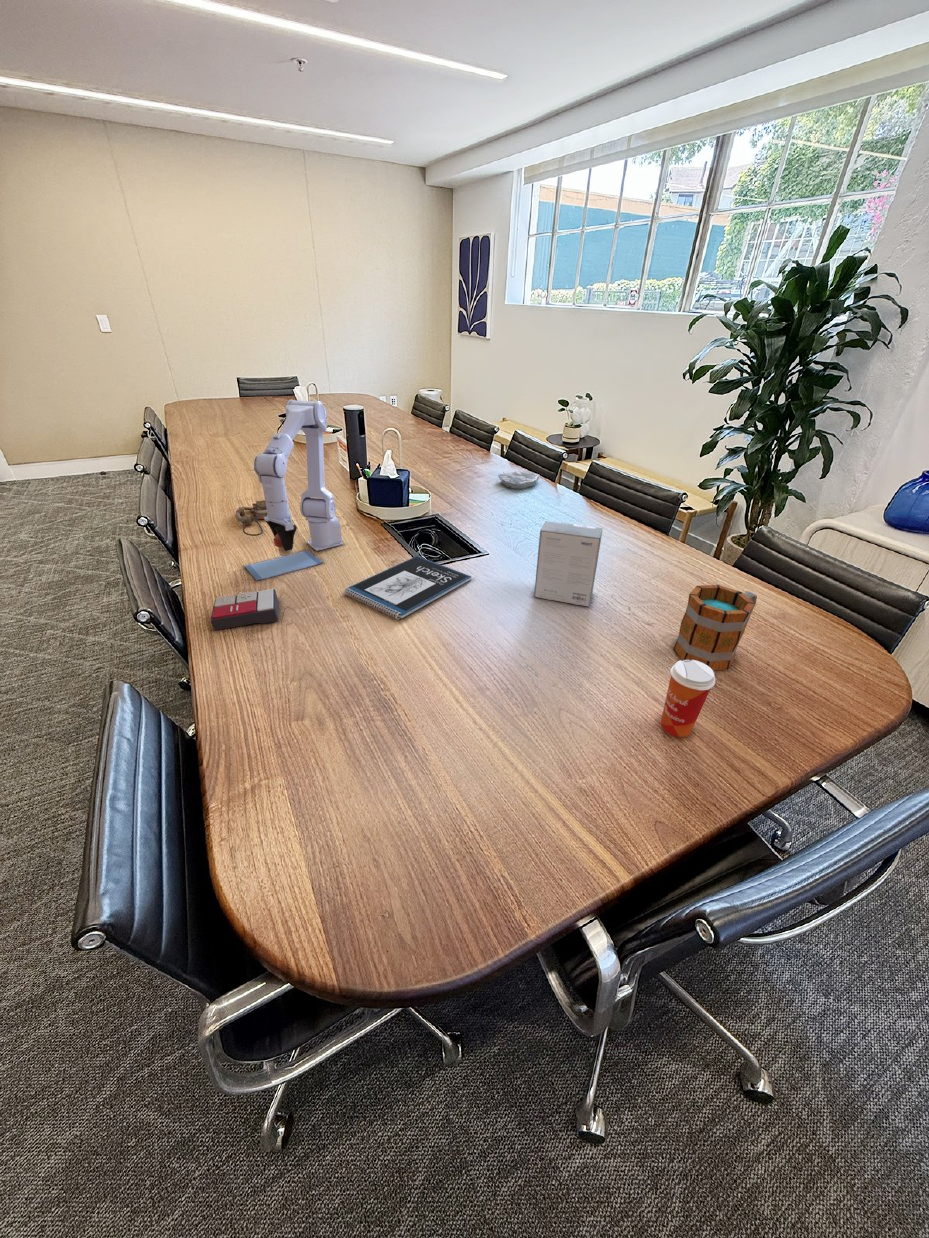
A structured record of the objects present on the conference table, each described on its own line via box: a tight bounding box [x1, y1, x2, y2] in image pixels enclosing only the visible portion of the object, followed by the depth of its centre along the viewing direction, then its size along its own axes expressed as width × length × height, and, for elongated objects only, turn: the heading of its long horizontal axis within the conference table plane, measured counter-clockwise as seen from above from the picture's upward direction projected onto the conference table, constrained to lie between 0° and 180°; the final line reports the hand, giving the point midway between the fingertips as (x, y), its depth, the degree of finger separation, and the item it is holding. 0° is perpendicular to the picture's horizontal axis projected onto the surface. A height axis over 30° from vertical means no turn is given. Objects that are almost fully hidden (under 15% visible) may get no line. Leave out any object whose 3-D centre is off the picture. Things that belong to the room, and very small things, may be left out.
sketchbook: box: [343, 555, 472, 621], centre depth 144 cm, size 22×30×2 cm
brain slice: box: [497, 470, 541, 490], centre depth 227 cm, size 20×17×3 cm
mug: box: [672, 584, 758, 671], centre depth 118 cm, size 20×14×15 cm
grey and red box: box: [210, 588, 279, 631], centre depth 130 cm, size 11×4×15 cm
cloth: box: [244, 549, 323, 582], centre depth 155 cm, size 20×11×1 cm, turn 127°
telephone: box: [235, 499, 268, 537], centre depth 183 cm, size 15×33×4 cm, turn 23°
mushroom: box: [273, 533, 295, 557], centre depth 144 cm, size 5×5×7 cm
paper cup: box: [660, 659, 716, 738], centre depth 96 cm, size 8×8×14 cm
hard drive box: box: [533, 520, 604, 607], centre depth 137 cm, size 16×8×20 cm, turn 71°
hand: (284, 546), depth 144 cm, fingers closed on mushroom, 5 cm apart
